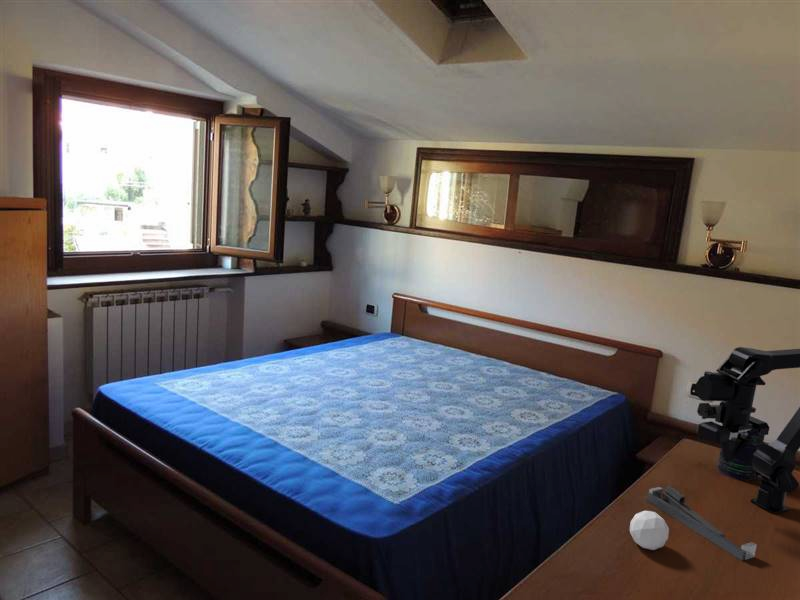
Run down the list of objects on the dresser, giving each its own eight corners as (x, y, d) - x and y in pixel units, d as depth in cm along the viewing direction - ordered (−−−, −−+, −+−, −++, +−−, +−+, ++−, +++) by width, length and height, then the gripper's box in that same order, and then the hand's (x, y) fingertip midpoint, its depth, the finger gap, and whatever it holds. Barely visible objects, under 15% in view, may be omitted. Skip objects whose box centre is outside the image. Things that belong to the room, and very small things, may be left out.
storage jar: (710, 470, 176) (720, 420, 174) (724, 461, 183) (733, 413, 180) (748, 484, 169) (759, 432, 166) (761, 475, 176) (771, 425, 173)
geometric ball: (644, 562, 134) (637, 542, 129) (627, 530, 140) (620, 510, 136) (678, 549, 133) (672, 529, 129) (659, 518, 140) (653, 497, 135)
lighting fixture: (725, 543, 140) (729, 526, 139) (715, 544, 139) (719, 526, 138) (670, 499, 158) (673, 484, 157) (661, 500, 157) (664, 484, 156)
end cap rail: (657, 498, 157) (659, 486, 157) (754, 557, 134) (756, 544, 134) (646, 500, 155) (648, 489, 155) (741, 560, 133) (744, 547, 132)
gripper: (734, 387, 161) (723, 443, 164) (684, 392, 153) (673, 451, 156) (776, 402, 152) (763, 462, 155) (724, 408, 143) (712, 472, 146)
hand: (727, 461), depth 153 cm, fingers closed
